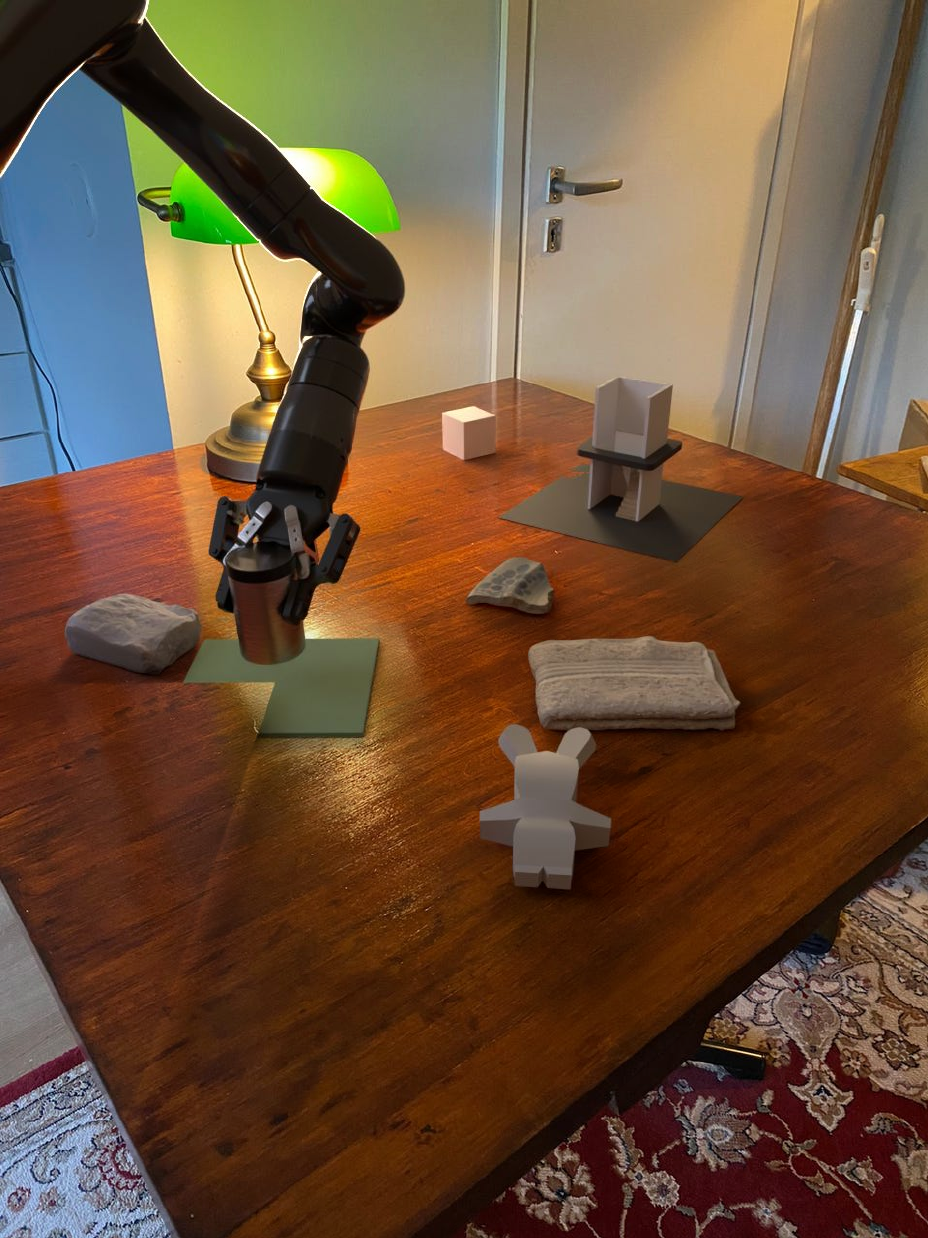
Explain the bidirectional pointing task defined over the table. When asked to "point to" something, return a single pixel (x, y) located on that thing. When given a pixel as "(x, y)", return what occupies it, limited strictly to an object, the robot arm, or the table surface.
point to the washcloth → (630, 685)
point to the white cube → (468, 432)
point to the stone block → (133, 632)
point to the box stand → (627, 480)
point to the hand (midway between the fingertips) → (257, 616)
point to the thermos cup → (264, 602)
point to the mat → (301, 684)
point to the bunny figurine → (545, 809)
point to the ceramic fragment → (516, 587)
